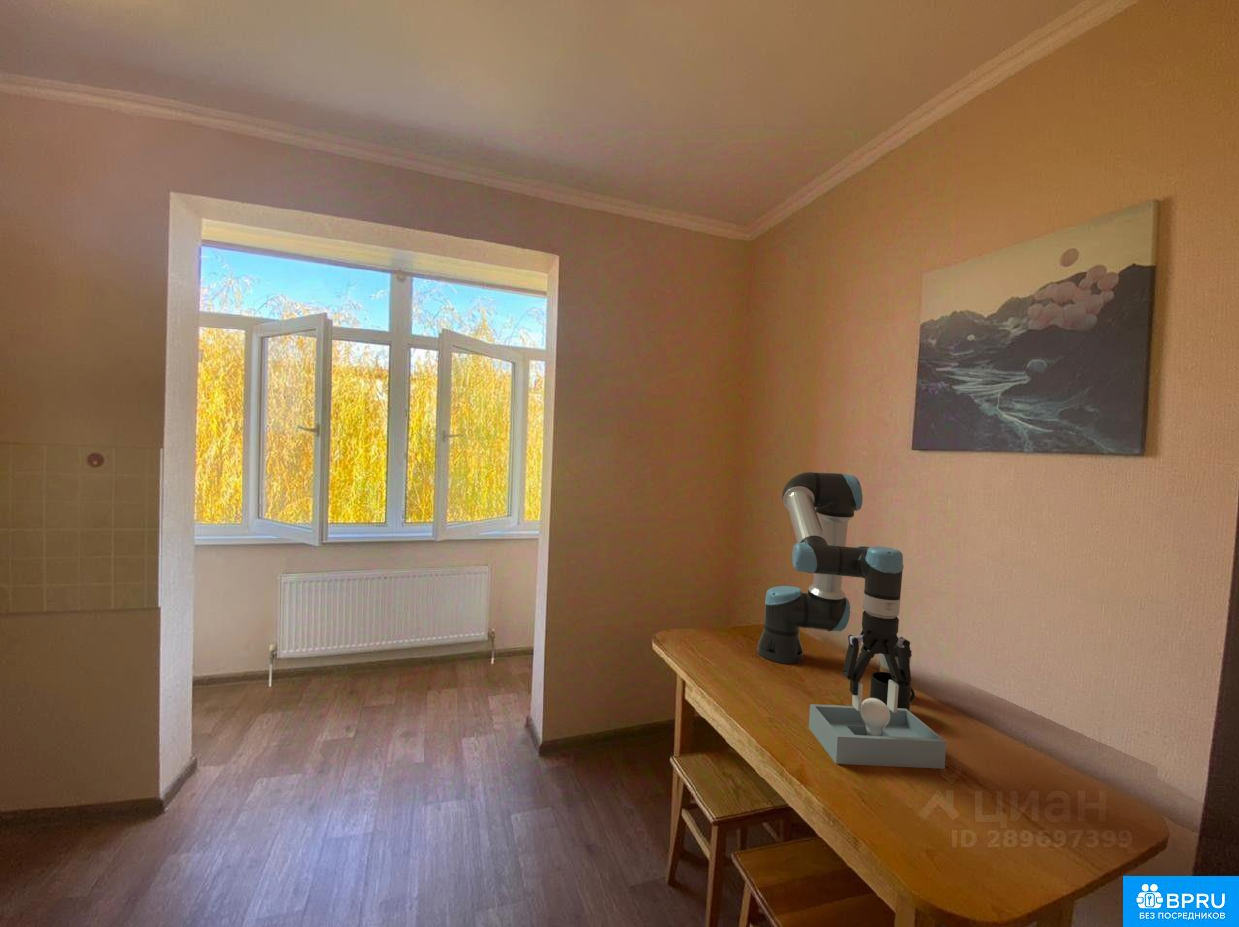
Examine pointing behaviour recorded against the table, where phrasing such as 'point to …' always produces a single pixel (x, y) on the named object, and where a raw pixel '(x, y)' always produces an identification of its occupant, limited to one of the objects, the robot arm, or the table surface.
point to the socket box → (876, 739)
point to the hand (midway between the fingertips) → (874, 708)
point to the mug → (881, 690)
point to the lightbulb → (874, 716)
